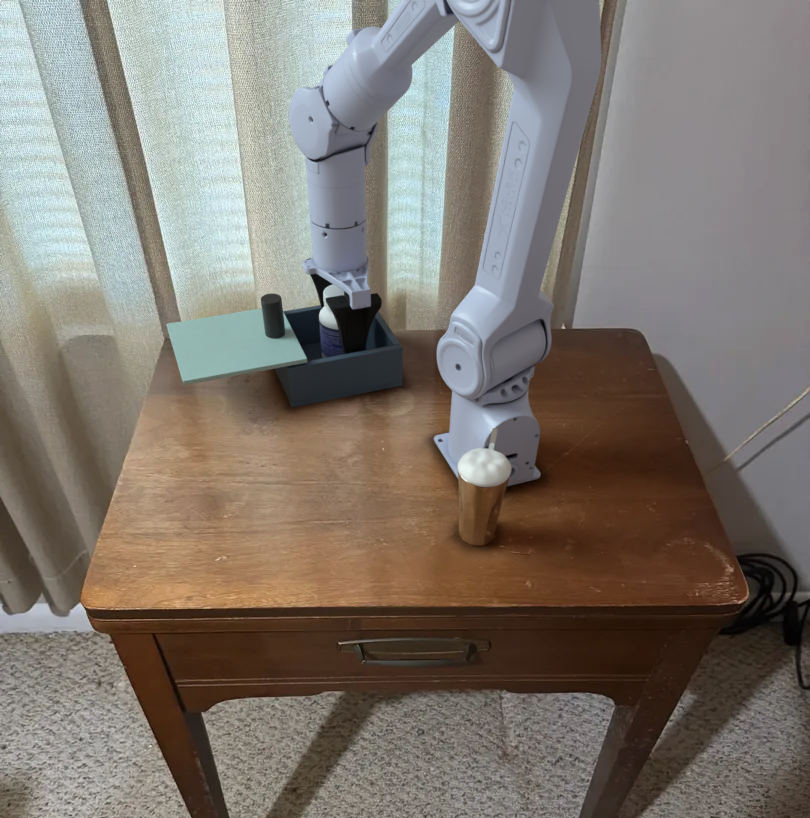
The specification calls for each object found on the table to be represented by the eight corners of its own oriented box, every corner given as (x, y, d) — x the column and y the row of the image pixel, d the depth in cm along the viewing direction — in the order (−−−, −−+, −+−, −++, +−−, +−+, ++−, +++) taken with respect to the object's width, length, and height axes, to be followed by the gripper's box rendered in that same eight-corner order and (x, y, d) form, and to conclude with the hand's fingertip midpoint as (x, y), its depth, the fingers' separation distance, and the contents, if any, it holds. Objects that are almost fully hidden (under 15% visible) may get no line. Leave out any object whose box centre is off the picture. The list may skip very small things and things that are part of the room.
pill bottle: (365, 375, 87) (363, 304, 81) (320, 374, 87) (314, 303, 81) (368, 350, 91) (366, 280, 84) (324, 349, 91) (319, 279, 84)
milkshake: (508, 517, 72) (521, 433, 64) (494, 556, 68) (506, 472, 61) (462, 506, 73) (470, 422, 65) (446, 544, 69) (452, 459, 62)
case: (402, 385, 87) (403, 347, 83) (292, 407, 83) (287, 368, 80) (369, 333, 94) (368, 296, 91) (267, 352, 91) (262, 314, 88)
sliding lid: (307, 362, 80) (303, 322, 77) (183, 385, 77) (174, 344, 74) (280, 308, 88) (276, 270, 85) (167, 327, 85) (157, 288, 81)
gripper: (282, 195, 81) (294, 312, 90) (319, 253, 71) (328, 376, 81) (345, 187, 82) (350, 302, 92) (390, 243, 73) (390, 364, 83)
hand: (344, 336), depth 87 cm, fingers open, 7 cm apart
